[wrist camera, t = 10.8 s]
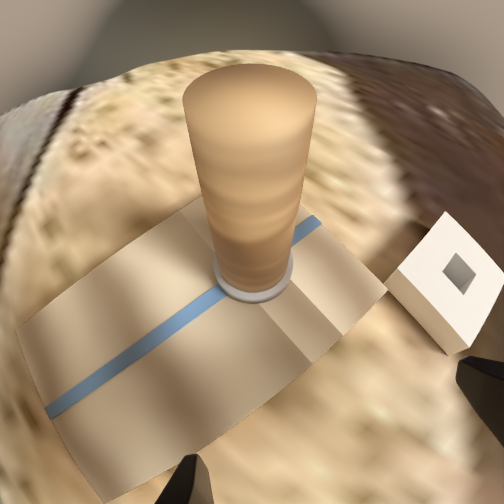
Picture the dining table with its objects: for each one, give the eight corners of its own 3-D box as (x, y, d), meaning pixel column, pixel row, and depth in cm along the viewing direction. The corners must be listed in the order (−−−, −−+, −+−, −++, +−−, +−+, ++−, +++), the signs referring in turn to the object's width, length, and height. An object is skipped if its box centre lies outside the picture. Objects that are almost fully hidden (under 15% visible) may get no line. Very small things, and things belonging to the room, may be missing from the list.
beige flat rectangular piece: (121, 494, 12) (103, 503, 10) (36, 340, 17) (14, 330, 15) (373, 304, 18) (389, 288, 16) (254, 187, 23) (254, 163, 20)
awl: (268, 328, 17) (291, 162, 6) (206, 296, 18) (140, 115, 7) (299, 270, 19) (345, 81, 8) (240, 243, 20) (224, 52, 9)
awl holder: (448, 356, 16) (469, 347, 14) (382, 284, 19) (396, 268, 17) (488, 290, 18) (506, 276, 16) (431, 229, 21) (445, 211, 19)
